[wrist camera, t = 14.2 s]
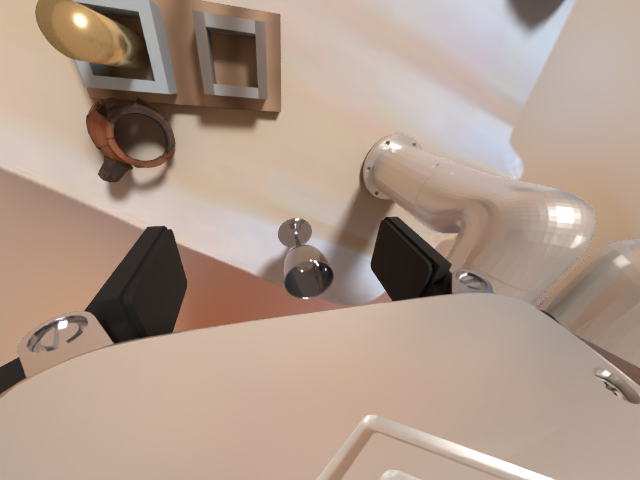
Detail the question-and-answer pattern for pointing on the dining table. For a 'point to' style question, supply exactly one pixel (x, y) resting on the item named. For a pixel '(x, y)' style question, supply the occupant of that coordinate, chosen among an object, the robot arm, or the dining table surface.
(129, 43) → the brass cylinder
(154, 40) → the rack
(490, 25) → the dining table surface
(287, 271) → the wine glass
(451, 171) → the robot arm
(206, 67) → the tool board
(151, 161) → the pottery mug
